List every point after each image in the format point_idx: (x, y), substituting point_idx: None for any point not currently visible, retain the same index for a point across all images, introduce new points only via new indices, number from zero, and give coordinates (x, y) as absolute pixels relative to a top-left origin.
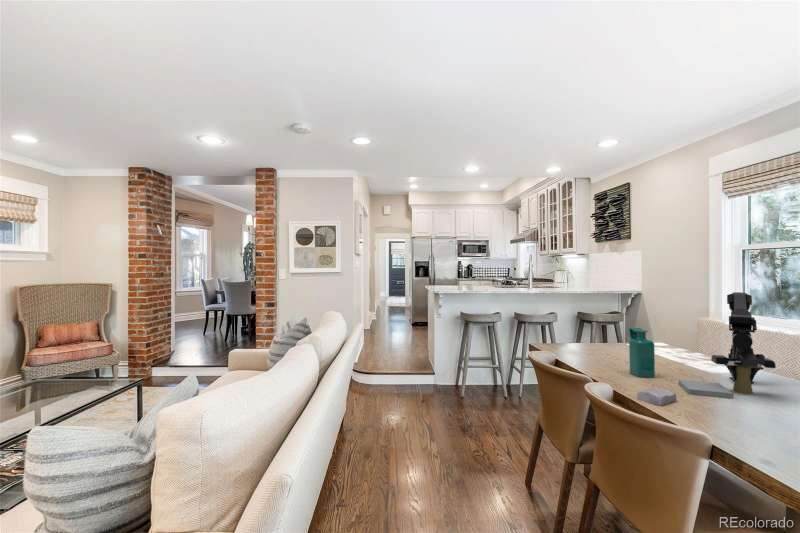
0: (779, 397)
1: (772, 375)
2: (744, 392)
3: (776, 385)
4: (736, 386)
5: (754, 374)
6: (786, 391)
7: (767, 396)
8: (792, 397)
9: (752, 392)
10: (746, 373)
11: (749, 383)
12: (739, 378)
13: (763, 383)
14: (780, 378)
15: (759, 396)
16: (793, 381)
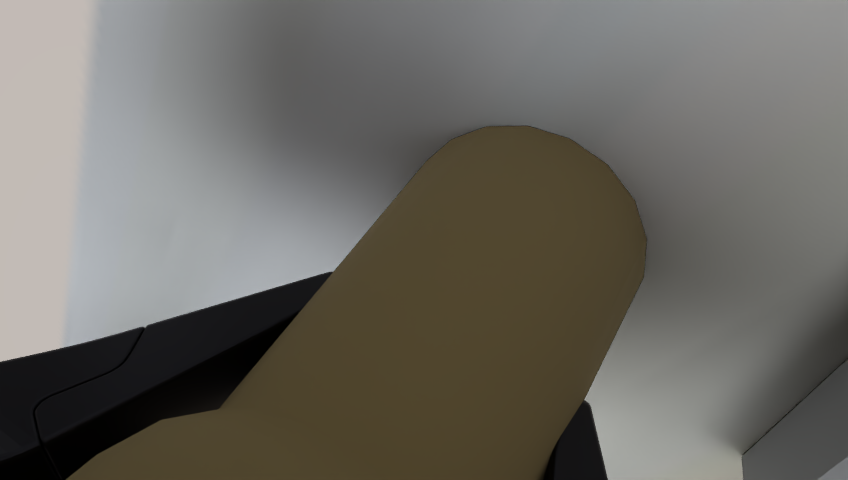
0: (202, 5)
1: None
2: (569, 159)
3: None
4: (615, 307)
5: (110, 350)
6: (110, 216)
7: (313, 36)
8: (99, 26)
9: (429, 162)
10: (268, 447)
11: (392, 233)
12: (524, 409)
13: None
14: None
15: (422, 21)
16: None
